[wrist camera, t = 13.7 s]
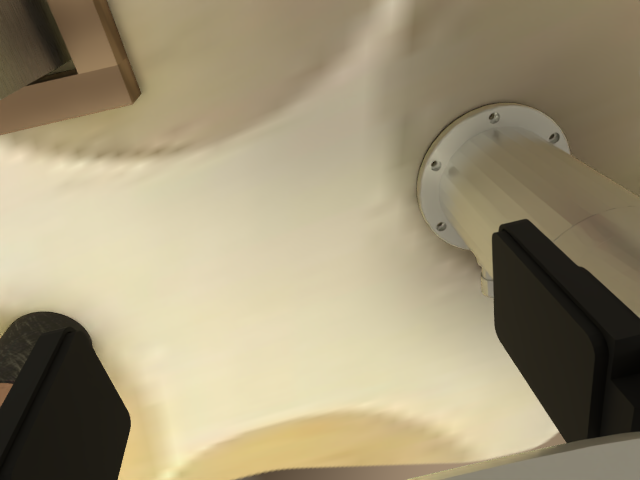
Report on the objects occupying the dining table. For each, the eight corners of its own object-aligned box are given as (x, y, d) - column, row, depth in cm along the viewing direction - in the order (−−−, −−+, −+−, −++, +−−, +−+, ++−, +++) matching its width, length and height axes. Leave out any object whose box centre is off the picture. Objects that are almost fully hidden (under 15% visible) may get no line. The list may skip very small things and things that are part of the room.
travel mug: (-18, 337, 44) (-195, 587, 26) (50, 293, 42) (-88, 526, 25) (49, 389, 47) (-67, 640, 30) (114, 350, 46) (33, 588, 29)
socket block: (141, 93, 36) (132, 104, 33) (-6, 127, 36) (-27, 141, 33) (49, -152, 29) (29, -163, 26) (-133, -111, 29) (-171, -118, 26)
